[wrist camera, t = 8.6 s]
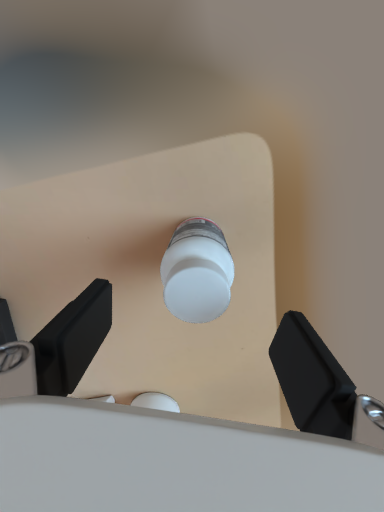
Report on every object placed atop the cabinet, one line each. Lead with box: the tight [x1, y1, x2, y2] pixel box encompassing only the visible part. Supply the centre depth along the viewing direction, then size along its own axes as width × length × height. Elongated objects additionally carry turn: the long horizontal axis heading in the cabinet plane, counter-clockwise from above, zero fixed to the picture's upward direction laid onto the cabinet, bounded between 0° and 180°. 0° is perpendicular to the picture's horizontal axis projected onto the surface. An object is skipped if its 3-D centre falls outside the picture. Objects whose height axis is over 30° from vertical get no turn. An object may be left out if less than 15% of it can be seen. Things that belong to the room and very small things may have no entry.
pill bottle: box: [160, 217, 234, 323], centre depth 16 cm, size 5×5×10 cm
